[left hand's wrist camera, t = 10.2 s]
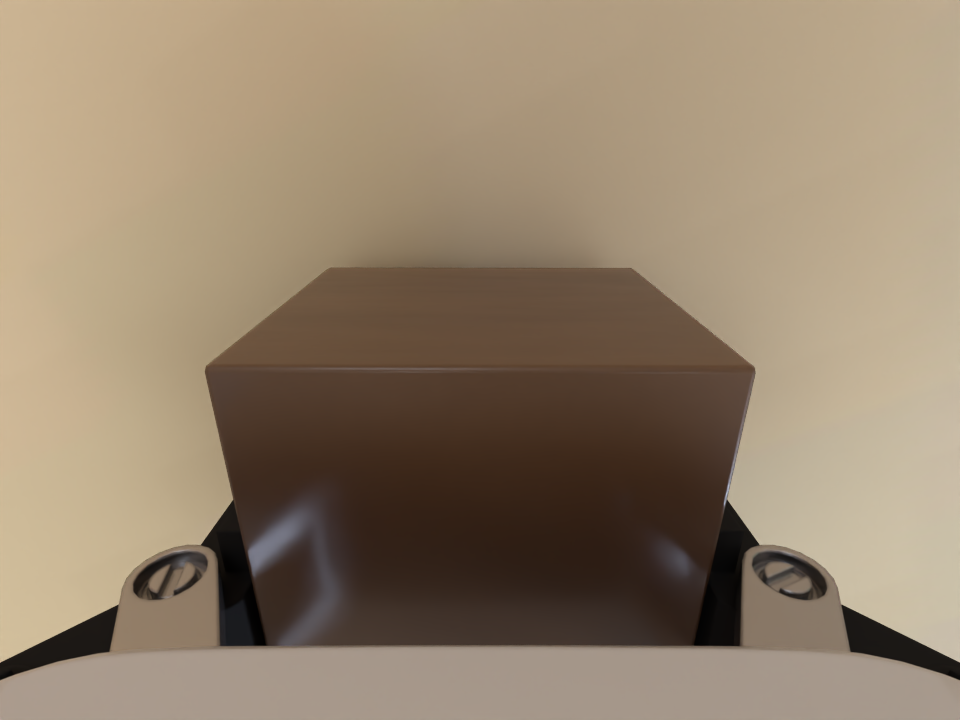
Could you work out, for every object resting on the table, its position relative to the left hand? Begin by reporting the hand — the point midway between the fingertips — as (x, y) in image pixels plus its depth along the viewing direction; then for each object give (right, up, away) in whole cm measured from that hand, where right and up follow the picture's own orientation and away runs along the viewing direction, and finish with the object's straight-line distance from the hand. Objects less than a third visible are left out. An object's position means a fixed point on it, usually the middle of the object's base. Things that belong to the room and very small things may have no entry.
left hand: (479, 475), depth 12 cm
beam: (0, -22, +10) cm, 25 cm away
